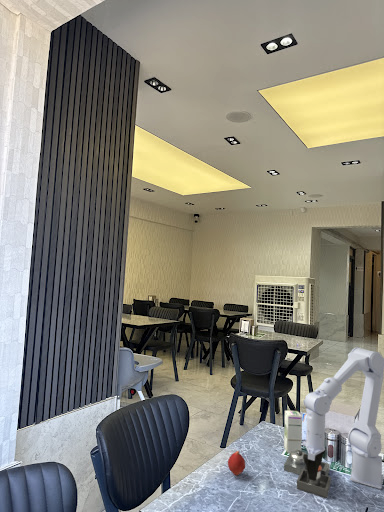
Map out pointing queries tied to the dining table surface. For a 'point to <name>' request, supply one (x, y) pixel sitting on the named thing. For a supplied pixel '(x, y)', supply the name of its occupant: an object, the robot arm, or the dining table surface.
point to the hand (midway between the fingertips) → (314, 474)
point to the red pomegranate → (236, 463)
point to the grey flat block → (301, 463)
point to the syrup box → (292, 431)
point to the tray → (316, 490)
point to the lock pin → (317, 482)
